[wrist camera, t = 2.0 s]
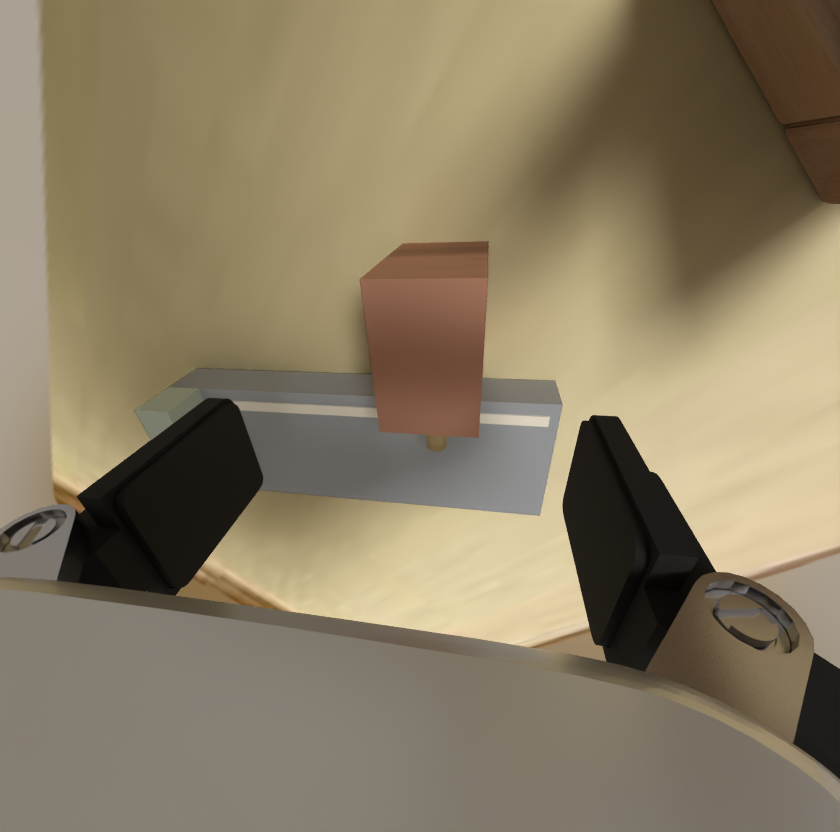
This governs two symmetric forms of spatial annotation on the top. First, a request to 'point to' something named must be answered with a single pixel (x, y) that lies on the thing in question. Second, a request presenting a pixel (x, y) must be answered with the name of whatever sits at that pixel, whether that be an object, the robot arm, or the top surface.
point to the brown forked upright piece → (796, 75)
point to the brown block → (428, 338)
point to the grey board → (378, 439)
